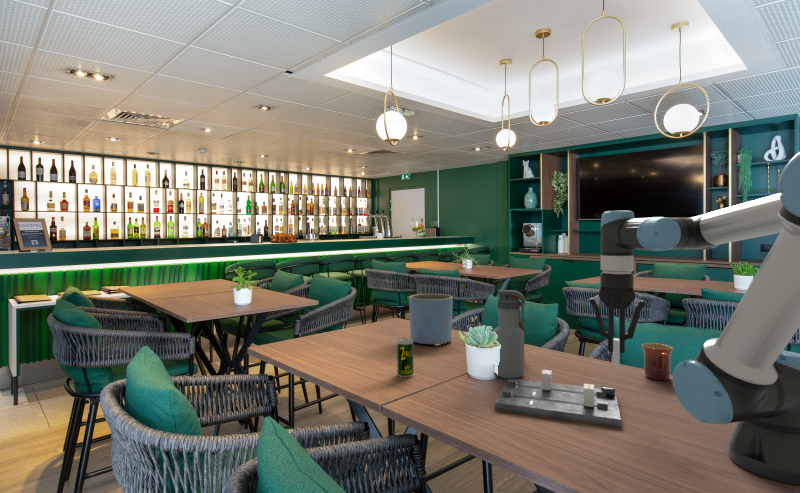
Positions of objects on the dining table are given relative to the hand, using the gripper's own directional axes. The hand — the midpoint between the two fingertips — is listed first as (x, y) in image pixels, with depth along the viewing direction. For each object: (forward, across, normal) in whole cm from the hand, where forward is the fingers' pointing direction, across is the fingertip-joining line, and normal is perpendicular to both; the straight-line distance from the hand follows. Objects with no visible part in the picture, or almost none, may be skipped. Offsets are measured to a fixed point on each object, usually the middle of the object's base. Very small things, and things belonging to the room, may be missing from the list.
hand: (615, 364), depth 113 cm
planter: (+14, +69, -60) cm, 92 cm away
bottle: (+14, +31, -43) cm, 55 cm away
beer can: (+14, +62, -12) cm, 65 cm away
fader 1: (+11, +17, -9) cm, 22 cm away
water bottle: (+14, +30, -25) cm, 41 cm away
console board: (+13, +14, -4) cm, 20 cm away
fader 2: (+11, +6, 0) cm, 12 cm away
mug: (+14, -15, -37) cm, 42 cm away
